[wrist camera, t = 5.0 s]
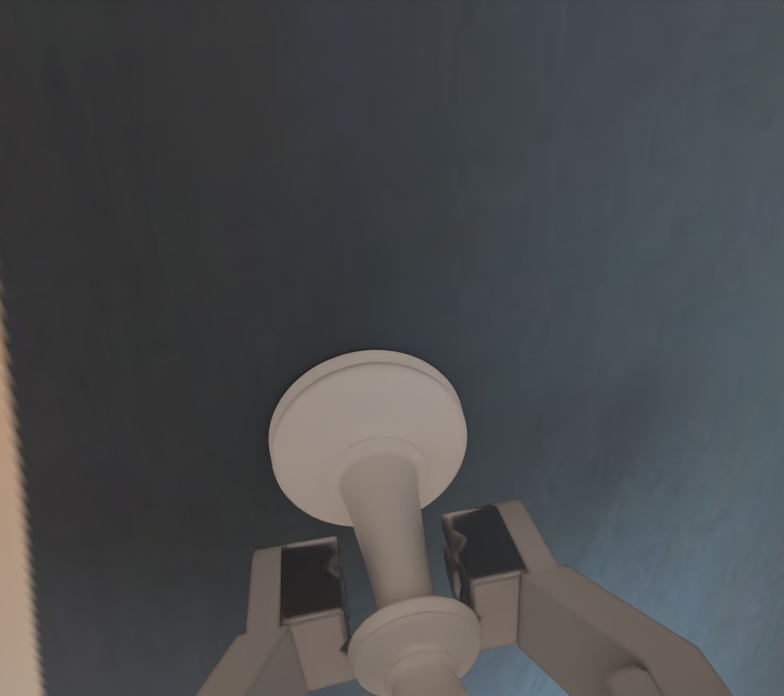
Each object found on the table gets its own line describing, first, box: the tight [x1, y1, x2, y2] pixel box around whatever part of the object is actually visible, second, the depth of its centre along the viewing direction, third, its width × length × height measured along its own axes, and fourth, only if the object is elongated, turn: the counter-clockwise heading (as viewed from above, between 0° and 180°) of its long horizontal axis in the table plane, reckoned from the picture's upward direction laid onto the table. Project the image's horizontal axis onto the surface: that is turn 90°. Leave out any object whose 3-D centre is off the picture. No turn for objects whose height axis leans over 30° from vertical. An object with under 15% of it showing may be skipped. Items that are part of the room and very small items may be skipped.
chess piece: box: [269, 350, 481, 696], centre depth 9 cm, size 5×5×10 cm
